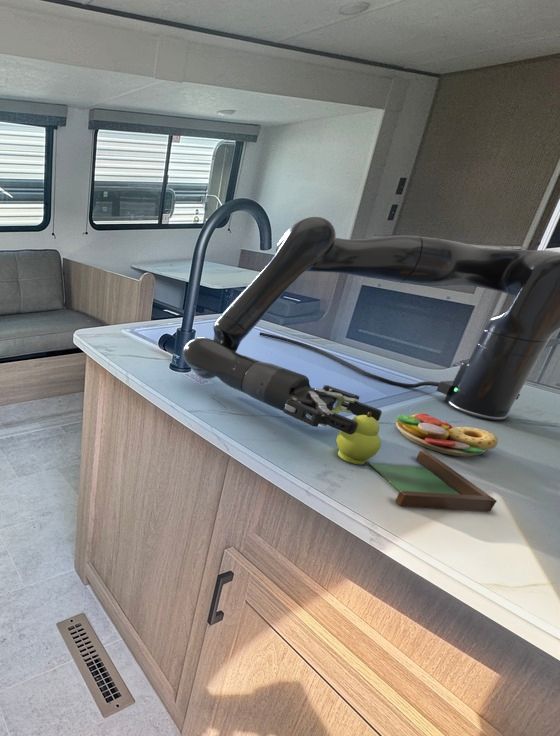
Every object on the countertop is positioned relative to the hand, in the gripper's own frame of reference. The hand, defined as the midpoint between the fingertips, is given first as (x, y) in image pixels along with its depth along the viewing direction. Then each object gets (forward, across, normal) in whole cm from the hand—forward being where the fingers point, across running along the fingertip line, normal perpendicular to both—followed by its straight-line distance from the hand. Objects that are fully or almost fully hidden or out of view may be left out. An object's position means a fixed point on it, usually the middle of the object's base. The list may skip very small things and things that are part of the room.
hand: (368, 422), depth 70 cm
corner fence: (+8, +1, +7) cm, 11 cm away
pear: (0, 0, +7) cm, 7 cm away
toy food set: (+5, +21, +7) cm, 23 cm away
